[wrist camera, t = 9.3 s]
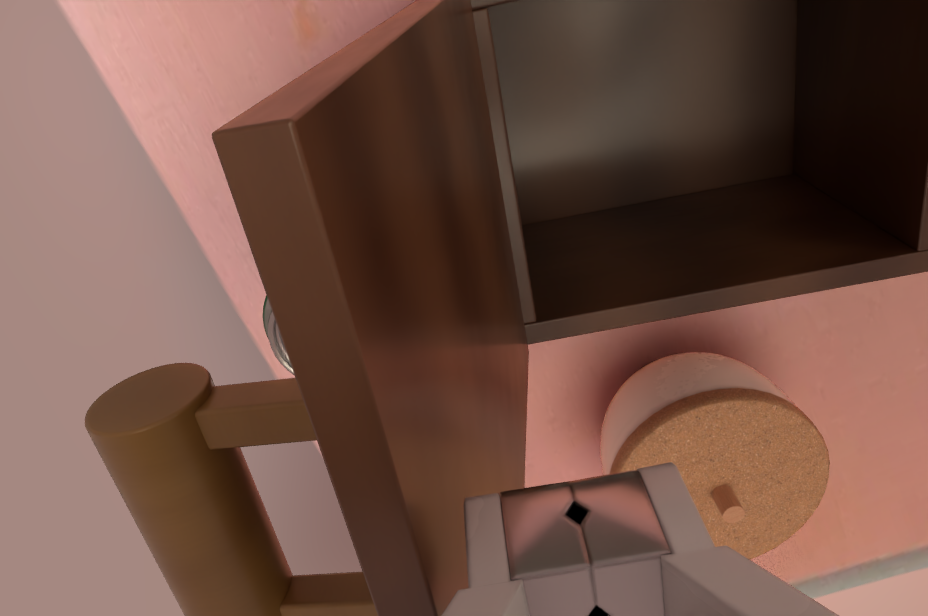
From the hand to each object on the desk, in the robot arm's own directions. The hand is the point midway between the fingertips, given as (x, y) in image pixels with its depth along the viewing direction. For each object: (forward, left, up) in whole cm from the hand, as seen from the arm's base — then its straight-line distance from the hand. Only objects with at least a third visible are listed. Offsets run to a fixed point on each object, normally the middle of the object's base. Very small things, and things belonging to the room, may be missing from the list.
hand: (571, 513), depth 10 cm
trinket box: (-16, +12, -27) cm, 34 cm away
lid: (+1, 0, -7) cm, 7 cm away
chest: (-7, -4, -26) cm, 28 cm away
